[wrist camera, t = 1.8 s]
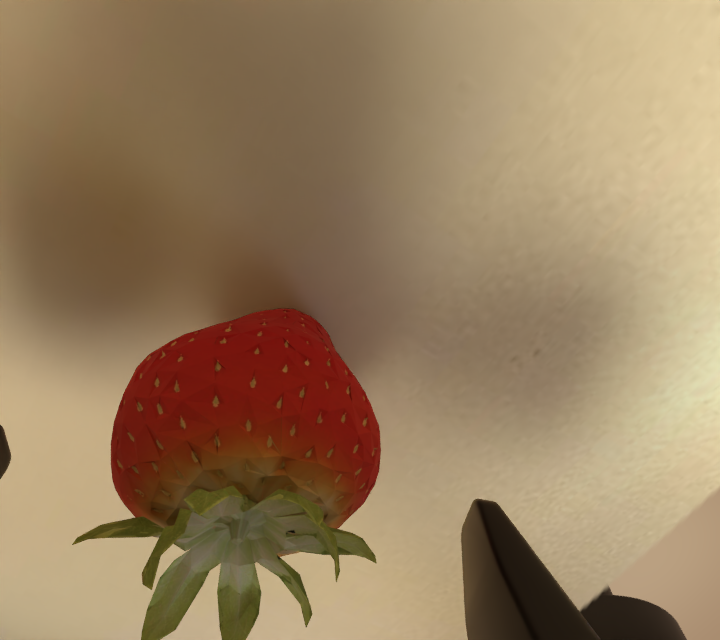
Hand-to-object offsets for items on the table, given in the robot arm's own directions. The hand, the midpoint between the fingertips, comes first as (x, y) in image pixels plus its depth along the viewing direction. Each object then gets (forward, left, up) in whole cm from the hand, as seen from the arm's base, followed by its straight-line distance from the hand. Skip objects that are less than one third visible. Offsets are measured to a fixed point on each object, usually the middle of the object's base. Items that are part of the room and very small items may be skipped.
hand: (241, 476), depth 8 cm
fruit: (0, 0, -6) cm, 6 cm away
